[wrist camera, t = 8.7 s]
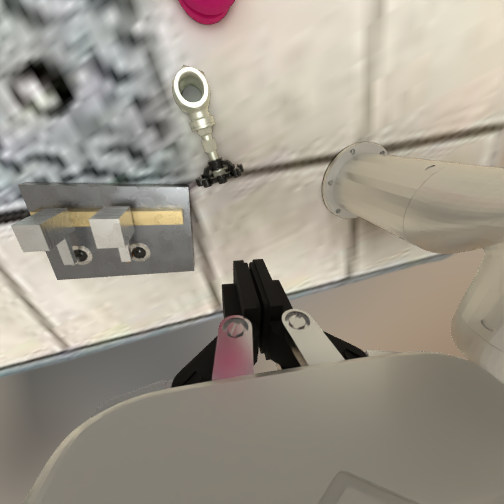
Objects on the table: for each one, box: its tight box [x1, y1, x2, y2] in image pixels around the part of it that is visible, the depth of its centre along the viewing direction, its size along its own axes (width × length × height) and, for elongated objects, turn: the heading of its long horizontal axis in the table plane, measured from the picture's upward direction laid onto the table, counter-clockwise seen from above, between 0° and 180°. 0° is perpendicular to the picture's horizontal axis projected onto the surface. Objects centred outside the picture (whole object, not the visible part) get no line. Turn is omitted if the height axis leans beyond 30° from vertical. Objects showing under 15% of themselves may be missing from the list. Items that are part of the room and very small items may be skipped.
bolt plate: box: [11, 182, 194, 280], centre depth 30 cm, size 20×14×9 cm
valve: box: [172, 65, 244, 188], centre depth 27 cm, size 7×7×12 cm
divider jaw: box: [89, 206, 135, 263], centre depth 29 cm, size 3×8×6 cm, turn 177°
